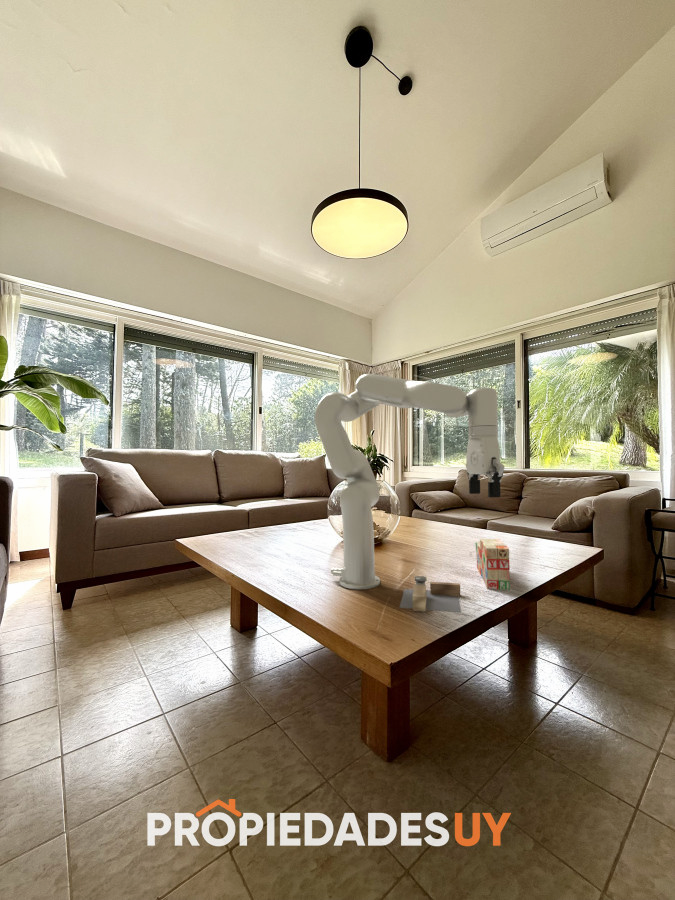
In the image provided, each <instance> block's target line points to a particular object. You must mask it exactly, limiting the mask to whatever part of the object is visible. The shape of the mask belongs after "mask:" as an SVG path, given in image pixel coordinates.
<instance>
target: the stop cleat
mask: <svg viewBox="0 0 675 900" xmlns="http://www.w3.org/2000/svg"><path fill="white" fill-rule="evenodd" d="M429 585H430V586H429V589H430V594H434V595H448V596H459V597H461V583H459V582H458V583H457V582H456V583H455V582H442V581H441V582H440V581H430V583H429Z"/></svg>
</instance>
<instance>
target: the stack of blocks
mask: <svg viewBox="0 0 675 900" xmlns="http://www.w3.org/2000/svg"><path fill="white" fill-rule="evenodd" d="M475 551H476V553H475V554H476V556H475V557H476V569H477V571H478V573H479V575H480V577H481V578H482V580H483V583H484V585H485V587H486V589H487V590H499V591H500V590H503V591H510V590H511V581H510V577H511V576H510V566H511V565H510V564H511V563H510V548H509V547H508V545H507V544H506V543H504V542H503V541H502V540H501V539H500V538H479V541H475Z"/></svg>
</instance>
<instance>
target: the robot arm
mask: <svg viewBox="0 0 675 900" xmlns="http://www.w3.org/2000/svg"><path fill="white" fill-rule="evenodd" d="M354 389H355V391H353V392H352V393H350V394H349V395H346V394H344V393H342V392H337V391H336V392H335V391H333V392H329V393H327V394H325V395H324V396H323V397H321V399H320V400H319V401H318V404H317V406H316V408H315V411H314V424H315V429H316V431H317V433H318V435H319V439H320V441H321V443H322V446H323V449H324V452H325V454H326V457H327V460H328V462H329V464H330V468H331V470H332V473H333V474H334V475H335V476H336V477H337V478H339V479H341V480H342V479H343V480H344V479H345V480H346V482H347V484H346V485H344V487H343V488H342V489H341V492H340V493H339V494H340V496H339V503H340V504H339V505H340V511H341V512H340V513H341V520H342V541H343V543H342V544H343V547H342V548H343V567H340V568H338V567H331V568H330V569H331V570H330V574H331V575H333V576H334V577H340V578H339V579H338V582H339V583H338V584H339V585H340V586H341V587H343V588H346V589H350V590H368V589H372V588H376V587H378V586H379V585H380V584H381V580H380V579H381V578H380V577H379V576H377V575H376V570H375V538H374V537H375V536H374V534H375V533H374V532H375V531H374V519H373V512H372V507H374V506H375V505H376V504H377V503H378V501H379V500H380V491H381V490H380V487H379V484H378V482H377V479H376V476H375V475H374V471H373V470H372V467H371V465H370V462H369V460H368V458H367V456H366V455H365V454H364V453H363V452H362V451H360V450H358V449H354V447H353V446H352V442H351V441H350V438H349V435H348V433H347V431H346V430H345V427H344V426H343V424H342V422H347V423H348V422H353V421H355V420H357V419H359V418H360V417H362V416H363V415H365V414H366V413H368V412H370V411H371V410H373V409H374V408H377V407H378V406H379V405H386V406H389V407H395V408H399V409H407V410H408V409H411V408H412V409H413V408H414V409H423V410H428V411H434V412H439V413H443V414H444V415H446V416H447V417H449V418H461V417H465V416H468V417H467V418H468V421H467V422H468V424H467V425H468V440H467V448H466V464H465V468H466V474H467V480H468V493H469V494H471V495H472V494H473V495H479V494H481V480H480V479H479V478H480V476H481V475H482V476H483V475H486V476H487V479H488V482H487V496H488V498H500V497H501V483H502V481H503V480H502V478H503V476H504V474H503V473H504V470H505V465H504V464H503V463H502V462H501V455H500V446H499V433H498V432H499V431H498V393H497V390H496V389H494V388H493V387H492V388H491V387H479V388H474V389H471V390H469V391H466V392H464V390H462V389H461V388H459V387H457V386H454V385H448V384H445V383H443V384H442V383H437V382H431V381H424V380H423V381H421V380H413V379H404V378H399V377H393V376H388V375H381V374H376V373H364V374H362V375H360V376H359V377H358V378H357V379H356V381H355V386H354Z"/></svg>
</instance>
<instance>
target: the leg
mask: <svg viewBox="0 0 675 900" xmlns="http://www.w3.org/2000/svg"><path fill="white" fill-rule="evenodd" d="M413 589H414V591H413V609H412V611H413V612H426V610H425V609H426V590H427V585H426V584H425V585H418V584H416V583H415V584H414V587H413Z"/></svg>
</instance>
